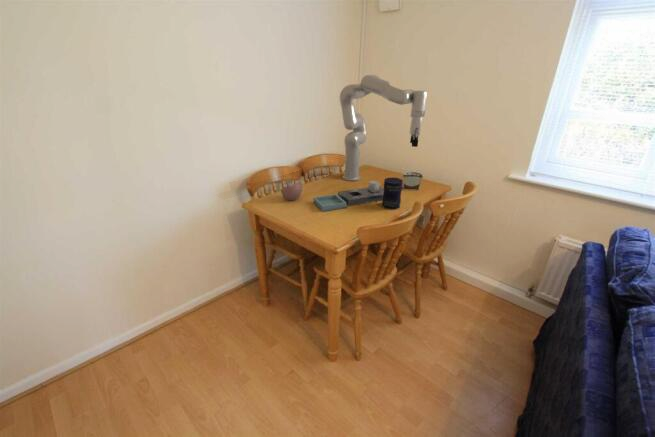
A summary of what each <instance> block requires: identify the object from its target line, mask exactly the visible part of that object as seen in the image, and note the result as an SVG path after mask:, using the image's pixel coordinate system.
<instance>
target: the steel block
mask: <svg viewBox="0 0 655 437" xmlns="http://www.w3.org/2000/svg"><path fill="white" fill-rule="evenodd" d="M379 186H380V182H378V181H377V180H371V181H370V180H369V181H368V191H369V192H370V193H378V192H379Z"/></svg>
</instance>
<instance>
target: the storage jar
mask: <svg viewBox="0 0 655 437" xmlns="http://www.w3.org/2000/svg"><path fill="white" fill-rule="evenodd" d="M403 183H404V179H402V178H399V177H386V178H384V182H383V189H384V195H383V200H381V201H382V202H381V203H382V205H381V206H382V207H383V209H387V210H398V209H400V205H401V202H402V199H401V196H402V191H403Z"/></svg>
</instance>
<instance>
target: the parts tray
mask: <svg viewBox="0 0 655 437" xmlns="http://www.w3.org/2000/svg"><path fill="white" fill-rule="evenodd" d="M313 204H315V205H316V206H317V207H318V209H320V211H321V212H323V213H325V212H331V211H336V210H341V209H347V208H348V207H347V206H348V205H347V203H346V202H345V201H344V200H343V199H341V198H340V197H339V196H338V194H337V193H335V194H329V195H328V194H327V195H323V196H315V197H313Z"/></svg>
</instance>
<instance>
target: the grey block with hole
mask: <svg viewBox="0 0 655 437" xmlns="http://www.w3.org/2000/svg"><path fill="white" fill-rule="evenodd" d="M337 195H338V196H339V197H340V198H341V199H343V200H344V201H345V202H346V203H347V206H348V207H349V206H357V205H362V204H368V203H373V202H374V203H375V202H379V201H382V200H383V195H384V187H381V185H379V192H378V193H370V192H369V191H368V187H363V188H362V187H361V188H356V189H355V188H354V189H347V190H346V189H345V190H342V191H341V190H340V191H337Z"/></svg>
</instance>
